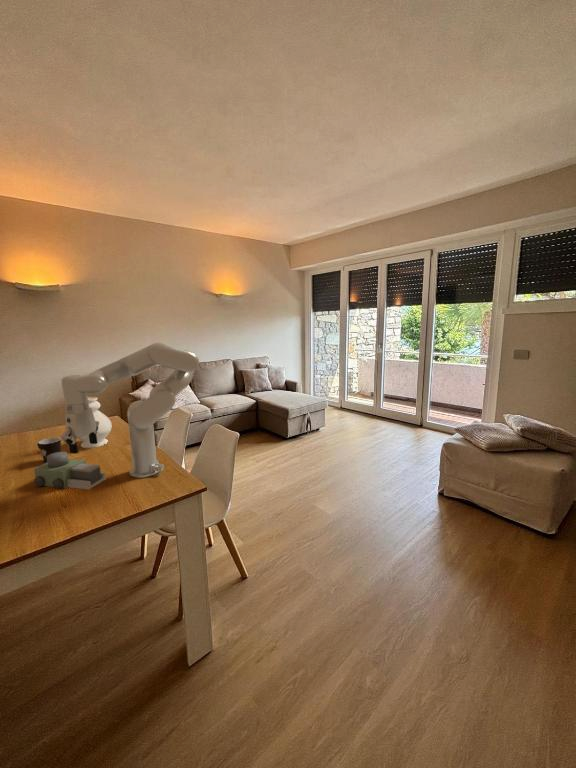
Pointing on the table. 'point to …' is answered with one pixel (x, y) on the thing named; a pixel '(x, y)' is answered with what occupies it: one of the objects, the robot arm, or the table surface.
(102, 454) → the table surface
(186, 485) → the table surface
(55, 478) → the green toy tractor
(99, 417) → the decorative vase
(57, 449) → the coffee mug
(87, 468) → the gray rectangular block
